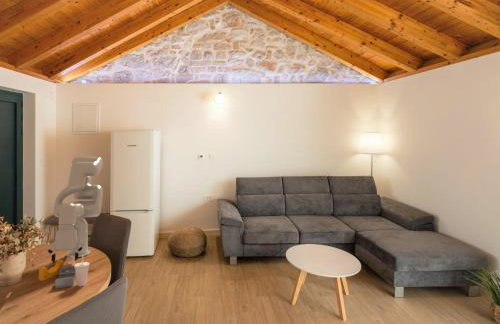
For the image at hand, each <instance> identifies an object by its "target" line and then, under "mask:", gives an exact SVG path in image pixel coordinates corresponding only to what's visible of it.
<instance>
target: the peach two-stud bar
mask: <svg viewBox="0 0 500 324" xmlns="http://www.w3.org/2000/svg"><path fill="white" fill-rule="evenodd" d="M76 261H77V260H76ZM76 261H75V256H74V257H73V256H71V257H67V256H66V258H65V260H64V261H63V267H68V266H74V265H75V264H77V263H76Z"/></svg>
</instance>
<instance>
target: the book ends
mask: <svg viewBox="0 0 500 324" xmlns="http://www.w3.org/2000/svg"><path fill="white" fill-rule="evenodd" d="M57 275H58V278H56V279H55V280H54V281H55V283H54V287H55V289H64V288H70V287H74V285H75V279H76V272H75V268H74V266H68V267H60V272H59V274H57Z"/></svg>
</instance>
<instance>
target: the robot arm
mask: <svg viewBox="0 0 500 324" xmlns="http://www.w3.org/2000/svg"><path fill="white" fill-rule="evenodd" d="M103 166H104V162H103V158H102V157H100V156H76V157H74V158H72V161H71V167H70V173H69V177H68V182H67V186H65V187H64V188H63V189H62V190H61V191H59V193H58V194H57V196H56V198H55V200H54V206H53V215H54V216H55V217H56V218H58V229H57V230H56V232H55V236H54V242H52V243H50V244H48V245H46V246H45V248H46V250H47V252H48V253H49V254H50V255H51V262H52V263H53V264H56V252H59V251H68V252H66V253H65V255H66V256H65V257H66V258H67V257H71V256H73V257H74V256H75V261H77V260H78V259H79V258H82V255H83V257H85V256H88V255H90V254H91V250H90V249H88V247H89V246H88V245H89V243H88V242H89V241H88V239H89V237H88V235H89V226H88V225H89V223H88V222H87V220H86V219H85V218H96V217H99V216H100V215H101V211H102V204H103V196H104V189H103V187H102V186H101V185H100V184H92V177H96V176H98V175H99V173H100V172H101V170H102V169H103ZM72 195H73V198H74V199H75V200H76V201H72V202H69V203H67V202H66V203H63V202H64V200H65V199H66V198H68V197H69V196H72ZM51 247H53V250H52V249H51Z"/></svg>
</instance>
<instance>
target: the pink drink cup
mask: <svg viewBox="0 0 500 324" xmlns="http://www.w3.org/2000/svg"><path fill="white" fill-rule="evenodd" d="M89 267H90V262H88V261H84V256H83V255H82V257H81V262H77V263H76V264H75V265H74V268H75V272H76V275H75V279H76V286H77V287H83V286H87V283H88V282H87V281H88V275H89Z"/></svg>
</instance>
